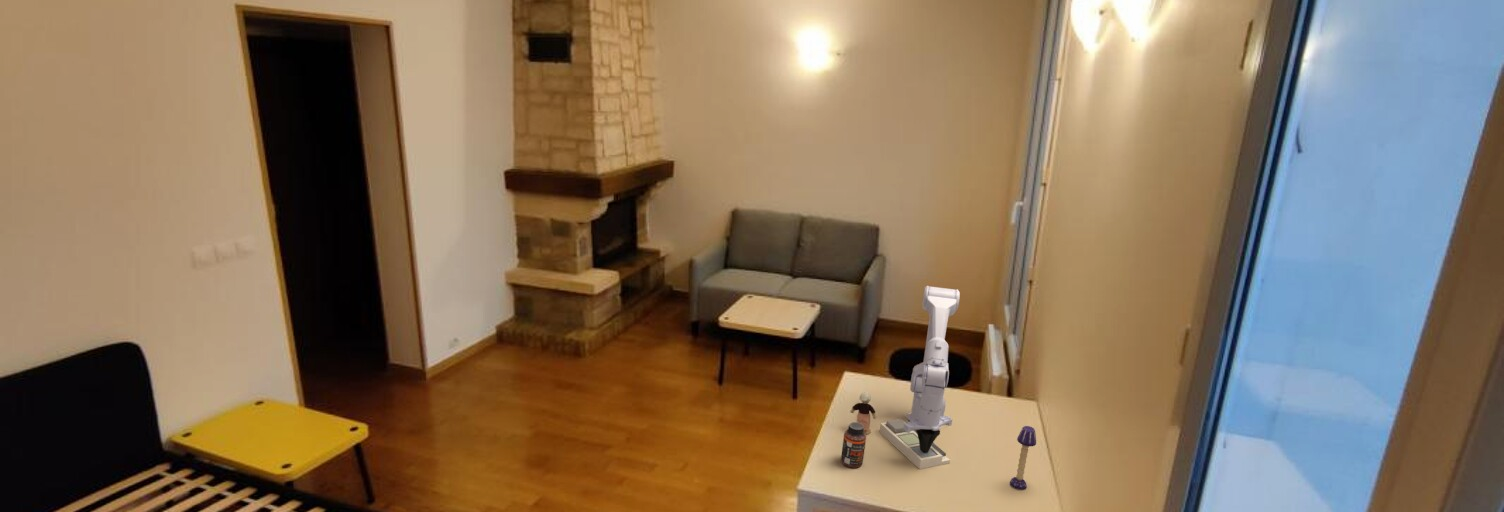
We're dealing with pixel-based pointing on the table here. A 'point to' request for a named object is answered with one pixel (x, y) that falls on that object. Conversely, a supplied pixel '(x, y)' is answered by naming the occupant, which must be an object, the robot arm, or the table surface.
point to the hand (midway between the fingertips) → (924, 450)
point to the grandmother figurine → (864, 411)
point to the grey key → (896, 425)
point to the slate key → (921, 454)
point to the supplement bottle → (853, 445)
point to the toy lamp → (1023, 455)
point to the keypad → (907, 450)
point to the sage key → (909, 439)
